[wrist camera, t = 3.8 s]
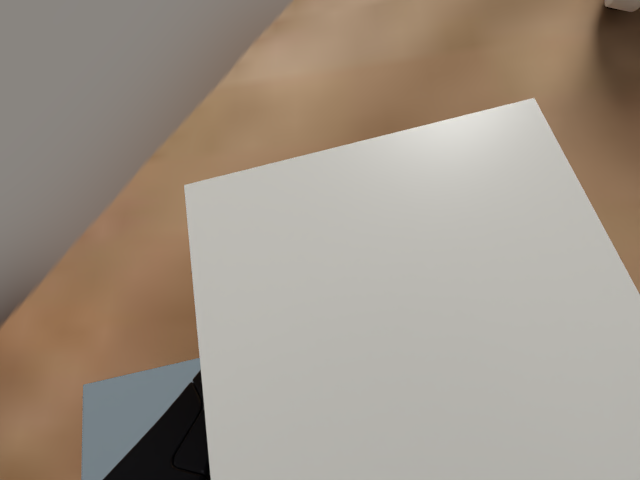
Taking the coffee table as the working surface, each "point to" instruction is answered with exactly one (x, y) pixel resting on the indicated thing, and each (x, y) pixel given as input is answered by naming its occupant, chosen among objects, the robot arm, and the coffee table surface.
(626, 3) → the cable organizer
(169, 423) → the robot arm
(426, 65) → the coffee table surface
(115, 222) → the coffee table surface
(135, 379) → the rubber pad
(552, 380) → the block
